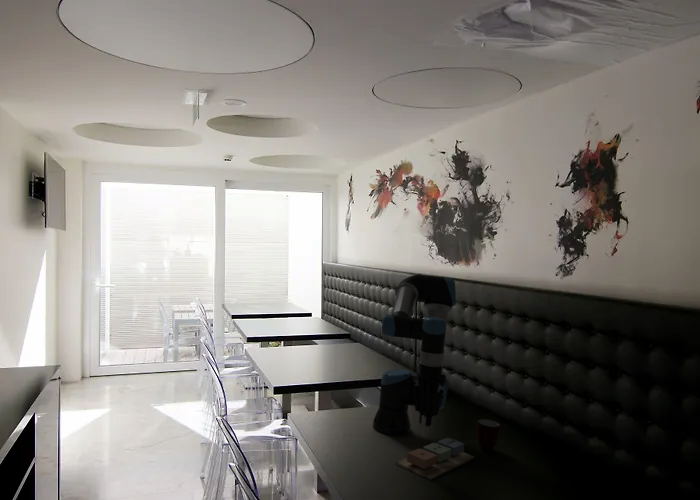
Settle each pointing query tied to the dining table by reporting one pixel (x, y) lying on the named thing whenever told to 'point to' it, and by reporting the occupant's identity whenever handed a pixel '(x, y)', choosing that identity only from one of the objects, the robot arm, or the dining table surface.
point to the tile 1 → (421, 458)
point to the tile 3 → (452, 445)
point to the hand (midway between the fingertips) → (424, 434)
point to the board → (436, 465)
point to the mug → (487, 434)
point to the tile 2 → (438, 451)
